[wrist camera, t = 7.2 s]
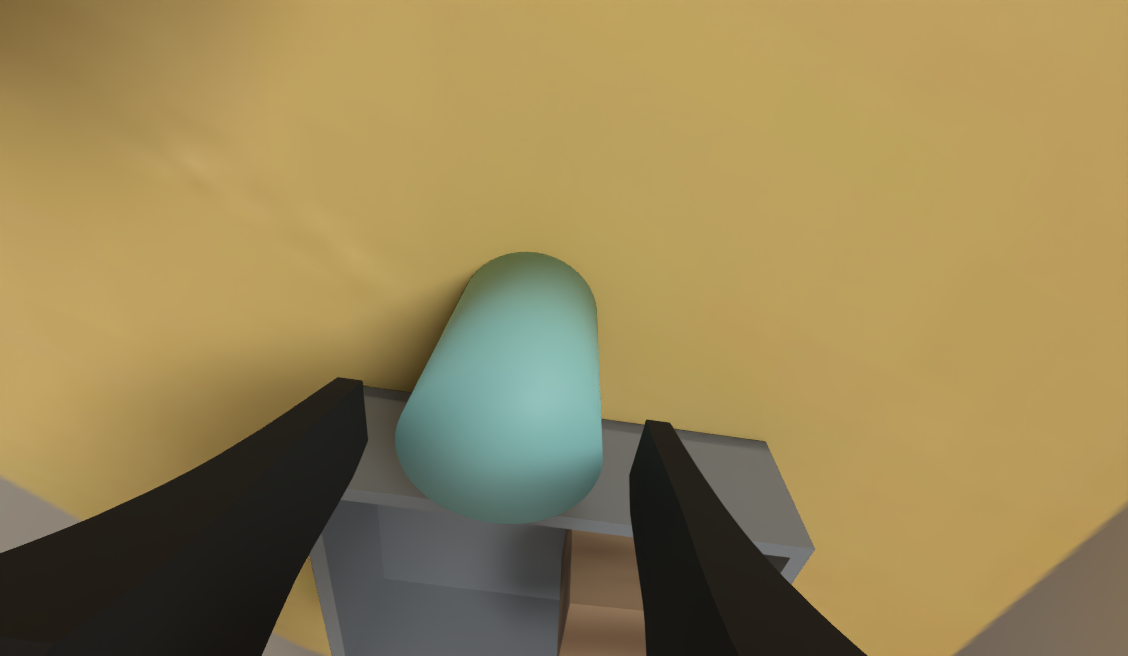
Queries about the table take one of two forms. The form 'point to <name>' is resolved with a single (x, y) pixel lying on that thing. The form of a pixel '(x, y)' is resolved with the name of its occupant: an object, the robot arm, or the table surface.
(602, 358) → the table surface
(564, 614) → the walnut cube
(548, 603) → the tote
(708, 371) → the table surface
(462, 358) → the teal cylinder
